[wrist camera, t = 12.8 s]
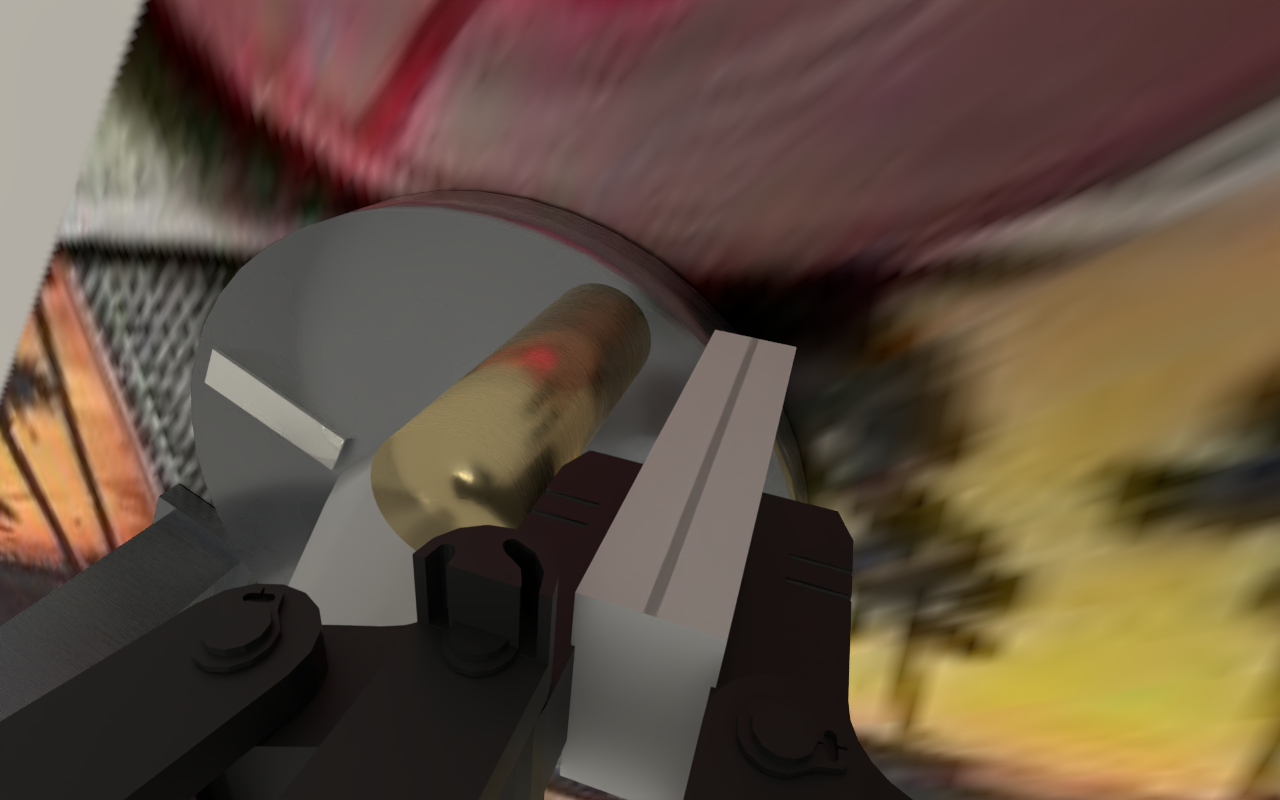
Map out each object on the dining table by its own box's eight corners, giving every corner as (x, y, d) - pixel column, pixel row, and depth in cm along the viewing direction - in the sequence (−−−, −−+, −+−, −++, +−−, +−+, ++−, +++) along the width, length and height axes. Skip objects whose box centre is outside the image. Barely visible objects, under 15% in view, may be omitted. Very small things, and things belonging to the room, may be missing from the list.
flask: (304, 445, 18) (-198, 805, 10) (535, 393, 15) (108, 844, 7) (426, 652, 21) (113, 1082, 12) (644, 641, 18) (435, 1197, 9)
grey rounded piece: (963, 471, 16) (1043, 836, 9) (610, 769, 25) (502, 1070, 18) (349, 34, 15) (-115, 28, 8) (216, 499, 24) (-61, 693, 17)
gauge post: (281, 539, 24) (-304, 1034, 12) (253, 609, 27) (-254, 1077, 15) (176, 468, 24) (-518, 896, 12) (159, 545, 27) (-431, 963, 15)
